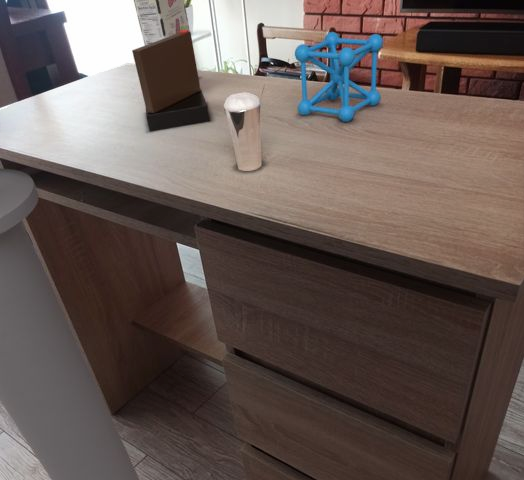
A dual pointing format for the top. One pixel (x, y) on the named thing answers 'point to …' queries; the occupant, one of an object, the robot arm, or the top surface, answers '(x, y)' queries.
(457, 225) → the top surface
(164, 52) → the frame
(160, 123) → the frame stand
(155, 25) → the candy bar box
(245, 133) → the milkshake
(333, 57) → the molecular structure
